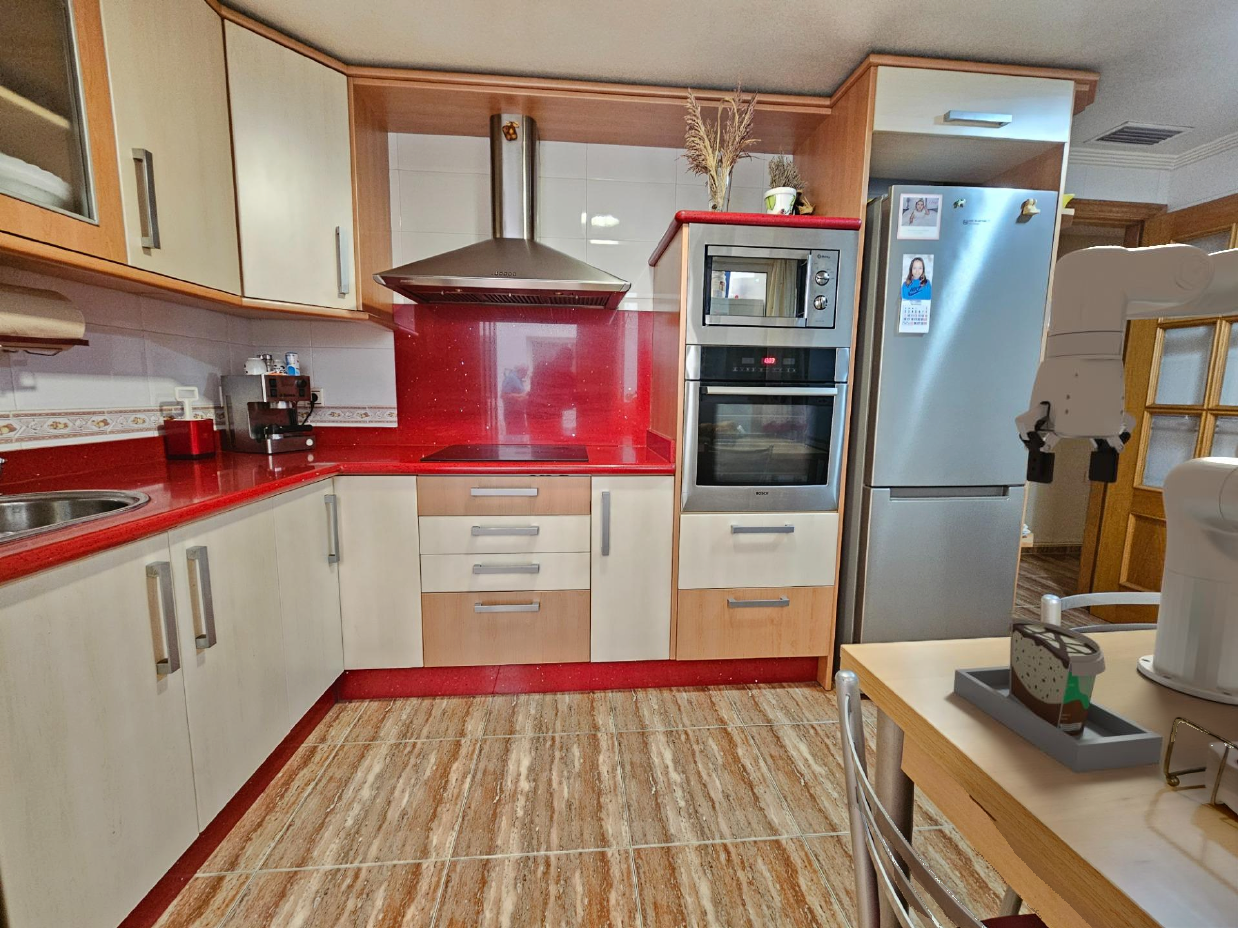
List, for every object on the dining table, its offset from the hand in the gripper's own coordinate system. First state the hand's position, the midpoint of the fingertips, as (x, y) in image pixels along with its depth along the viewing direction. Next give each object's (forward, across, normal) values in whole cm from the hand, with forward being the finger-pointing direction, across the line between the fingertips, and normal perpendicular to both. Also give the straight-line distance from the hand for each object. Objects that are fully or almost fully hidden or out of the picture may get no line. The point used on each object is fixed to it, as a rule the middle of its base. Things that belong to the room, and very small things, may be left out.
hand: (1070, 482), depth 72 cm
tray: (+28, +9, +8) cm, 31 cm away
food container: (+28, +7, +8) cm, 30 cm away
